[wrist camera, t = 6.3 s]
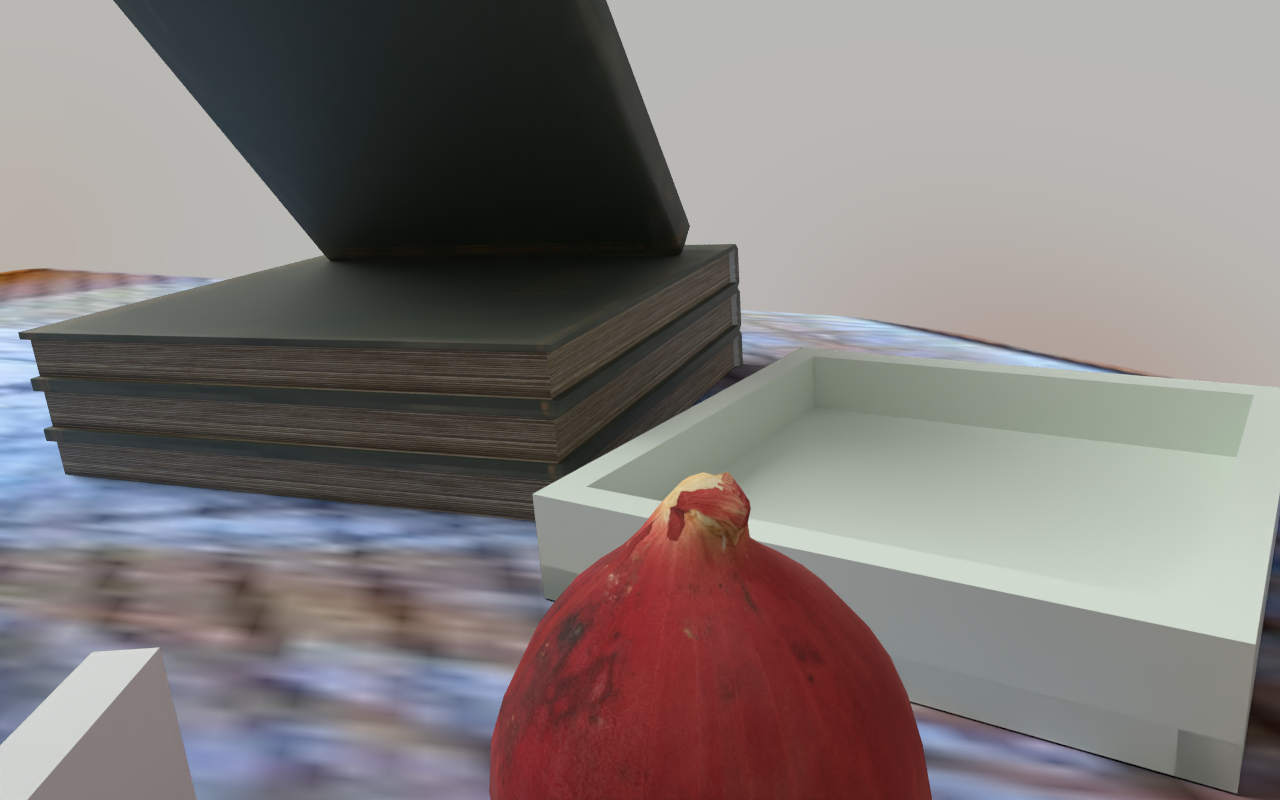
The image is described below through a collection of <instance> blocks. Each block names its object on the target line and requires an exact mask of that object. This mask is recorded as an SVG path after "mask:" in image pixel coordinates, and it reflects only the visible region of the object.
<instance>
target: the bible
mask: <svg viewBox="0 0 1280 800" xmlns="http://www.w3.org/2000/svg"><path fill="white" fill-rule="evenodd" d="M114 2H115V3H116V4H117V5H118V6H119V8H120V9H121V10H122V11H123V12H124V14H125V15H126V16H127V17H128V19H129V20H130V21H131V22H132V23H133V24H134V26H135V27H136V28H137V29H138V30H139V32H140V33H141V34H142V35H143V37H144V38H145V39H146V40H147V41H148V43H149V44H150V45H151V46H152V47H153V49H154V50H155V51H156V52H157V53H158V55H159V56H160V57H161V58H162V60H163V61H164V62H165V63H166V64H167V66H168V67H169V68H170V69H171V70H172V72H173V73H174V74H175V75H176V76H177V78H178V79H179V80H180V81H181V82H182V84H183V85H184V86H185V87H186V88H187V90H188V91H189V92H190V93H191V94H192V96H193V97H194V98H195V99H196V100H197V101H198V103H199V104H200V105H201V106H202V108H203V109H204V110H205V111H206V113H207V114H208V115H209V116H210V117H211V119H212V120H213V121H214V122H215V123H216V125H217V126H218V127H219V128H220V129H221V131H222V132H223V133H224V134H225V135H226V137H227V138H228V139H229V140H230V141H231V143H232V144H233V145H234V146H235V148H236V149H237V150H238V151H239V152H240V154H241V155H242V156H243V157H244V158H245V160H246V161H247V162H248V163H249V164H250V166H251V167H252V168H253V169H254V170H255V172H256V173H257V174H258V175H259V176H260V177H261V179H262V180H263V181H264V182H265V184H266V185H267V186H268V187H269V188H270V190H271V191H272V192H273V193H274V194H275V196H277V198H278V199H279V201H280V202H281V203H282V204H283V205H284V207H285V208H286V209H287V210H288V211H289V213H290V214H291V215H292V216H293V217H294V219H295V220H296V221H297V222H298V223H299V225H300V226H301V227H302V228H303V230H304V231H305V232H306V233H307V234H308V236H309V237H310V238H311V239H312V240H313V241H314V243H315V244H316V245H317V246H318V248H319V249H320V250H321V251H322V252H323V254H324V255H323V256H320V257H316V258H312V259H308V260H304V261H300V262H296V263H292V264H288V265H284V266H280V267H276V268H272V269H268V270H264V271H260V272H256V273H252V274H248V275H244V276H241V277H236V278H232V279H228V280H224V281H220V282H216V283H213V284H209V285H205V286H201V287H197V288H193V289H189V290H185V291H181V292H177V293H173V294H169V295H165V296H161V297H157V298H153V299H149V300H145V301H141V302H137V303H133V304H129V305H125V306H121V307H117V308H113V309H109V310H105V311H102V312H98V313H94V314H90V315H86V316H82V317H78V318H74V319H70V320H66V321H62V322H58V323H54V324H50V325H46V326H42V327H38V328H34V329H30V330H26V331H22V332H18V333H19V337H20V339H25V340H31V343H32V347H33V351H34V355H35V359H36V363H37V366H38V370H39V374H40V376H39V377H35V378H32V379H31V383H32V387H33V391H44V393H45V397H46V401H47V405H48V409H49V413H50V417H51V421H52V424H53V426H51V427H48V428H46V429H44V433H45V437H46V440H47V441H56V442H57V444H58V448H59V451H60V455H61V459H62V463H63V467H64V471H65V474H68V475H78V476H88V477H98V478H108V479H118V480H128V481H138V482H148V483H158V484H168V485H178V486H188V487H198V488H208V489H218V490H228V491H238V492H248V493H258V494H268V495H278V496H288V497H298V498H308V499H319V500H329V501H339V502H349V503H359V504H369V505H379V506H389V507H399V508H409V509H419V510H429V511H439V512H449V513H459V514H469V515H479V516H489V517H499V518H509V519H519V520H529V521H535V512H534V504H533V495H532V494H533V493H535V492H537V491H539V490H541V489H543V488H544V487H546V486H548V485H550V484H552V483H554V482H555V481H557V480H559V479H561V478H563V477H565V476H566V475H568V474H570V473H572V472H574V471H576V470H577V469H579V468H581V467H583V466H585V465H587V464H588V463H590V462H592V461H594V460H596V459H598V458H599V457H601V456H603V455H605V454H607V453H609V452H611V451H612V450H614V449H616V448H618V447H620V446H622V445H623V444H625V443H627V442H629V441H631V440H633V439H634V438H636V437H638V436H640V435H642V434H644V433H645V432H647V431H649V430H651V429H653V428H655V427H656V426H658V425H660V424H662V423H664V422H666V421H667V420H669V419H671V418H673V417H675V416H677V415H678V414H680V413H682V412H684V411H686V410H688V409H689V408H690V407H691V406H692V405H693V404H695V403H696V402H697V401H698V400H699V399H700V398H701V397H702V396H703V395H704V394H705V393H706V392H708V391H709V390H710V389H711V388H712V387H713V386H714V385H715V384H716V383H717V382H718V381H719V380H720V379H722V378H723V377H724V376H725V375H726V374H727V373H728V372H729V371H730V370H731V369H732V368H733V367H736V366H741V365H743V356H742V334H741V332H740V331H739V330H740V326H741V311H740V291H739V290H738V284H739V266H738V248H737V246H736V245H735V244H723V245H685V241H686V238H687V234H688V230H689V227H690V225H689V223H688V220H687V217H686V214H685V212H684V209H683V207H682V204H681V201H680V199H679V196H678V193H677V190H676V188H675V185H674V182H673V179H672V177H671V174H670V171H669V169H668V166H667V163H666V161H665V158H664V155H663V153H662V150H661V147H660V145H659V142H658V139H657V136H656V134H655V131H654V128H653V126H652V123H651V120H650V118H649V115H648V112H647V109H646V107H645V104H644V101H643V99H642V96H641V93H640V91H639V88H638V85H637V82H636V80H635V77H634V75H633V72H632V69H631V66H630V64H629V61H628V58H627V56H626V53H625V50H624V48H623V45H622V42H621V39H620V37H619V34H618V31H617V29H616V26H615V24H614V20H613V18H612V15H611V12H610V10H609V7H608V5H607V2H606V0H114Z"/></svg>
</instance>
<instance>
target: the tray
mask: <svg viewBox="0 0 1280 800" xmlns="http://www.w3.org/2000/svg"><path fill="white" fill-rule="evenodd" d="M703 472H704V473H708V474H711V475H716V474H720V473H725V472H729V473H730V475H731V476H732V477H733V479H734V480H735V481H736V482H737V484H738V485H739V486H740V488H741V489H742V490H743V492H744V493H745V495H746V497H747V498H748V500H749V501H750V507H751V511H750V515H749V520H748V528H749V534H750V537H751V538H752V539H754V540H756V541H757V542H759V543H761V544H763V545H765V546H768V547H770V548H772V549H774V550H776V551H778V552H780V553H782V554H784V555H786V556H787V557H789V558H791V559H793V560H795V561H796V562H798V563H800V564H802V565H803V566H804V567H806V568H807V569H808V570H810V571H811V572H812V573H814V574H815V575H816V576H818V577H819V578H820V579H821V580H823V581H824V582H825V583H826V584H827V585H828V586H829V587H830V588H831V589H832V590H833V591H834V592H835V593H836V594H837V595H838V596H839V597H840V598H841V599H842V600H843V601H844V602H845V603H846V604H847V605H848V606H849V607H850V608H851V609H852V610H853V611H854V612H855V613H856V614H857V615H858V616H859V617H860V618H861V619H862V620H863V621H864V622H865V623H866V624H867V625H868V626H869V627H870V629H871V630H872V632H873V633H874V634H875V636H876V637H877V639H878V640H879V641H880V643H881V644H882V646H883V647H884V648H885V650H886V651H887V653H888V654H889V655H890V657H891V659H892V661H893V664H894V666H895V668H896V670H897V672H898V674H899V677H900V679H901V681H902V683H903V685H904V687H905V689H906V692H907V694H908V697H909V701H911V702H915V703H918V704H922V705H925V706H929V707H932V708H936V709H939V710H943V711H946V712H950V713H954V714H957V715H961V716H964V717H968V718H971V719H975V720H978V721H982V722H985V723H989V724H992V725H996V726H999V727H1003V728H1007V729H1010V730H1014V731H1017V732H1021V733H1024V734H1028V735H1031V736H1035V737H1038V738H1042V739H1045V740H1049V741H1053V742H1056V743H1060V744H1063V745H1067V746H1070V747H1074V748H1077V749H1081V750H1084V751H1088V752H1091V753H1095V754H1098V755H1102V756H1106V757H1109V758H1113V759H1116V760H1120V761H1123V762H1127V763H1130V764H1134V765H1137V766H1141V767H1144V768H1148V769H1151V770H1155V771H1159V772H1162V773H1166V774H1169V775H1173V776H1176V777H1180V778H1183V779H1187V780H1190V781H1194V782H1197V783H1201V784H1205V785H1208V786H1212V787H1215V788H1219V789H1222V790H1226V791H1229V792H1233V793H1236V794H1237V793H1238V786H1239V780H1240V773H1241V767H1242V760H1243V754H1244V747H1245V740H1246V734H1247V727H1248V721H1249V714H1250V707H1251V701H1252V694H1253V688H1254V681H1255V674H1256V668H1257V661H1258V655H1259V648H1260V642H1261V635H1262V628H1263V622H1264V615H1265V609H1266V602H1267V595H1268V589H1269V582H1270V576H1271V569H1272V562H1273V556H1274V549H1275V543H1276V536H1277V530H1278V523H1279V516H1280V388H1279V387H1267V386H1256V385H1244V384H1232V383H1219V382H1207V381H1195V380H1184V379H1172V378H1159V377H1147V376H1135V375H1123V374H1111V373H1099V372H1087V371H1075V370H1063V369H1051V368H1039V367H1027V366H1015V365H1002V364H990V363H978V362H966V361H954V360H942V359H930V358H918V357H906V356H894V355H882V354H870V353H857V352H845V351H833V350H821V349H809V348H800V349H798V350H796V351H794V352H792V353H790V354H789V355H787V356H785V357H783V358H781V359H779V360H778V361H776V362H774V363H772V364H770V365H768V366H767V367H765V368H763V369H761V370H759V371H757V372H756V373H754V374H752V375H750V376H748V377H746V378H745V379H743V380H741V381H739V382H737V383H735V384H734V385H732V386H730V387H728V388H726V389H724V390H723V391H721V392H719V393H717V394H715V395H713V396H711V397H710V398H708V399H706V400H704V401H702V402H700V403H699V404H697V405H695V406H693V407H691V408H689V409H688V410H686V411H684V412H682V413H680V414H678V415H677V416H675V417H673V418H671V419H669V420H667V421H666V422H664V423H662V424H660V425H658V426H656V427H655V428H653V429H651V430H649V431H647V432H645V433H644V434H642V435H640V436H638V437H636V438H634V439H633V440H631V441H629V442H627V443H625V444H623V445H622V446H620V447H618V448H616V449H614V450H612V451H611V452H609V453H607V454H605V455H603V456H601V457H599V458H598V459H596V460H594V461H592V462H590V463H588V464H587V465H585V466H583V467H581V468H579V469H577V470H576V471H574V472H572V473H570V474H568V475H566V476H565V477H563V478H561V479H559V480H557V481H555V482H554V483H552V484H550V485H548V486H546V487H544V488H543V489H541V490H539V491H537V492H535V493H533V494H532V495H533V504H534V512H535V521H536V530H537V539H538V548H539V557H540V565H541V574H542V583H543V592H544V598H547V599H551V600H554V601H556V600H557V598H558V597H559V596H560V595H561V594H562V593H563V592H564V590H565V589H566V588H567V587H568V586H569V585H570V584H571V583H572V582H573V581H574V579H575V578H576V577H577V576H578V575H580V574H581V573H582V572H583V571H585V570H586V569H587V568H589V567H590V566H591V565H593V564H594V563H595V562H596V561H598V560H599V559H600V558H602V557H603V556H605V555H607V554H608V553H610V552H612V551H613V550H615V549H616V548H618V547H620V546H621V545H623V544H624V543H625V542H626V541H627V540H628V539H630V538H631V537H632V536H633V535H634V534H635V533H636V532H637V531H638V530H639V529H640V528H641V527H642V526H643V525H644V523H645V522H646V521H647V520H648V518H649V517H650V516H651V515H652V513H653V512H654V511H655V510H656V508H657V507H658V506H659V505H660V503H661V502H662V501H663V500H664V499H665V498H666V497H667V496H668V495H669V494H670V493H671V492H672V491H673V490H674V489H675V488H676V487H677V486H678V485H679V483H680V482H682V481H683V480H684V479H686V478H687V477H689V476H692V475H696V474H699V473H703Z"/></svg>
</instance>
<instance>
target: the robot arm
mask: <svg viewBox="0 0 1280 800" xmlns="http://www.w3.org/2000/svg"><path fill="white" fill-rule="evenodd" d="M0 800H197V799H196V795H195V791H194V786H193V782H192V778H191V774H190V770H189V766H188V762H187V758H186V754H185V749H184V745H183V741H182V737H181V733H180V729H179V725H178V721H177V716H176V712H175V708H174V704H173V700H172V696H171V692H170V688H169V684H168V679H167V675H166V671H165V667H164V663H163V659H162V655H161V651H160V647H159V648H145V649H130V650H115V651H101V652H92V653H91V654H90V655H89V656H88V657H87V658H86V659H85V660H84V661H83V662H82V663H81V664H80V665H79V666H78V667H77V668H76V669H75V670H74V671H73V672H72V673H71V674H70V675H69V676H68V677H67V678H66V679H65V680H64V681H63V682H62V683H61V684H60V685H59V686H58V687H57V688H56V689H55V690H54V691H53V692H52V693H51V694H50V695H49V696H48V697H47V698H46V699H45V700H44V701H43V702H42V703H41V704H40V705H39V706H38V707H37V708H36V709H35V710H34V712H33V713H32V714H31V715H30V716H29V717H28V718H27V719H26V720H25V721H24V722H23V723H22V724H21V725H20V726H19V727H18V728H17V729H16V730H15V731H14V732H13V733H12V734H11V735H10V736H9V737H8V738H7V739H6V740H5V741H4V742H3V743H2V744H1V745H0Z"/></svg>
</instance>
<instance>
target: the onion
mask: <svg viewBox="0 0 1280 800" xmlns="http://www.w3.org/2000/svg"><path fill="white" fill-rule="evenodd" d="M750 511H751V507H750V501H749V500H748V498H747V497H746V495H745V493H744V492H743V490H742V489H741V488H740V486H739V485H738V484H737V482H736V481H735V480H734V479H733V477H732V476H731V475H730V473H729V472H725V473H720V474H716V475H711V474H708V473H704V472H703V473H699V474H696V475H692V476H689V477H687V478H686V479H684V480H683V481H682V482H680V483H679V485H678V486H677V487H676V488H675V489H674V490H673V491H672V492H671V493H670V494H669V495H668V496H667V497H666V498H665V499H664V500H663V501H662V502H661V503H660V505H659V506H658V507H657V508H656V510H655V511H654V512H653V513H652V515H651V516H650V517H649V518H648V520H647V521H646V522H645V523H644V525H643V526H642V527H641V528H640V529H639V530H638V531H637V532H636V533H635V534H634V535H633V536H632V537H631V538H630V539H628V540H627V541H626V542H625V543H624V544H623V545H621V546H620V547H618V548H616V549H615V550H613V551H612V552H610V553H608V554H607V555H605V556H603V557H602V558H600V559H599V560H598V561H596V562H595V563H594V564H593V565H591V566H590V567H589V568H587V569H586V570H585V571H583V572H582V573H581V574H580V575H578V576H577V577H576V578H575V579H574V581H573V582H572V583H571V584H570V585H569V586H568V587H567V588H566V589H565V590H564V592H563V593H562V594H561V595H560V596H559V597H558V598H557V600H556V601H555V602H554V604H553V605H552V606H551V608H550V609H549V610H548V612H547V613H546V614H545V616H544V617H543V618H542V620H541V621H540V623H539V625H538V627H537V629H536V631H535V633H534V635H533V637H532V639H531V641H530V643H529V645H528V647H527V649H526V651H525V653H524V655H523V657H522V659H521V661H520V664H519V666H518V668H517V670H516V672H515V674H514V676H513V678H512V680H511V683H510V685H509V687H508V689H507V691H506V693H505V695H504V698H503V701H502V705H501V708H500V712H499V715H498V719H497V722H496V726H495V729H494V733H493V736H492V740H491V762H490V790H489V792H490V798H491V800H932V796H931V790H930V785H929V779H928V773H927V768H926V762H925V756H924V751H923V745H922V741H921V738H920V735H919V731H918V728H917V724H916V721H915V718H914V714H913V711H912V707H911V704H910V701H909V697H908V694H907V692H906V689H905V687H904V685H903V683H902V681H901V679H900V677H899V674H898V672H897V670H896V668H895V666H894V664H893V661H892V659H891V657H890V655H889V654H888V653H887V651H886V650H885V648H884V647H883V646H882V644H881V643H880V641H879V640H878V639H877V637H876V636H875V634H874V633H873V632H872V630H871V629H870V627H869V626H868V625H867V624H866V623H865V622H864V621H863V620H862V619H861V618H860V617H859V616H858V615H857V614H856V613H855V612H854V611H853V610H852V609H851V608H850V607H849V606H848V605H847V604H846V603H845V602H844V601H843V600H842V599H841V598H840V597H839V596H838V595H837V594H836V593H835V592H834V591H833V590H832V589H831V588H830V587H829V586H828V585H827V584H826V583H825V582H824V581H823V580H821V579H820V578H819V577H818V576H816V575H815V574H814V573H812V572H811V571H810V570H808V569H807V568H806V567H804V566H803V565H802V564H800V563H798V562H796V561H795V560H793V559H791V558H789V557H787V556H786V555H784V554H782V553H780V552H778V551H776V550H774V549H772V548H770V547H768V546H765V545H763V544H761V543H759V542H757V541H756V540H754V539H752V538H751V537H750V534H749V528H748V520H749V515H750Z"/></svg>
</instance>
